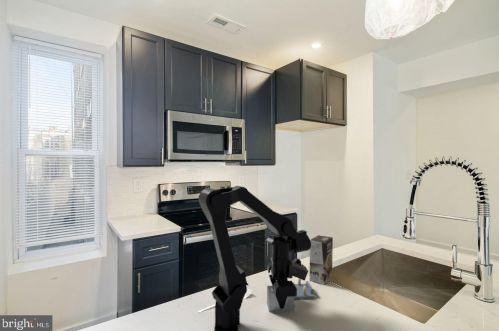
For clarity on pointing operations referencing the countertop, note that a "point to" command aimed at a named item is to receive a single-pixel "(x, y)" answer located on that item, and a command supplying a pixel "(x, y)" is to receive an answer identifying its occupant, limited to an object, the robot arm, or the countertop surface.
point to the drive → (273, 302)
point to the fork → (214, 305)
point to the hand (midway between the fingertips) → (280, 304)
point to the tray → (304, 290)
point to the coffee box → (321, 259)
